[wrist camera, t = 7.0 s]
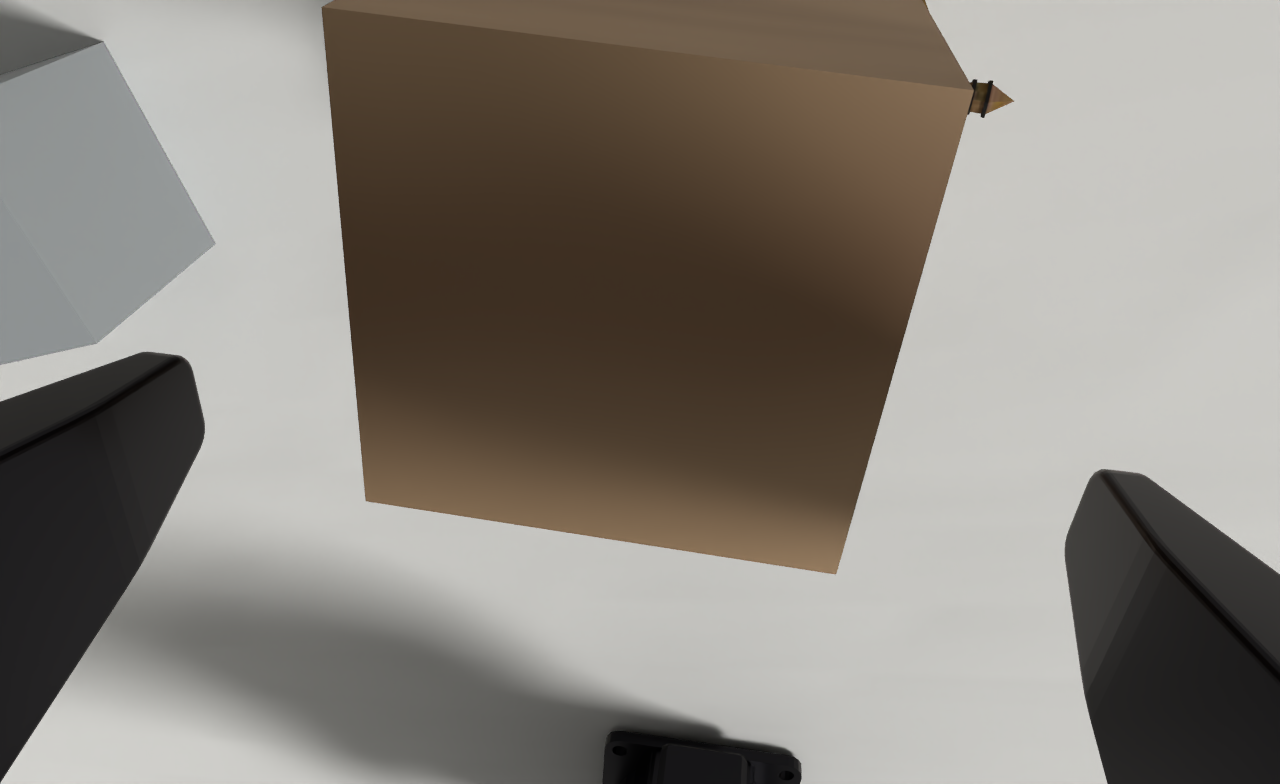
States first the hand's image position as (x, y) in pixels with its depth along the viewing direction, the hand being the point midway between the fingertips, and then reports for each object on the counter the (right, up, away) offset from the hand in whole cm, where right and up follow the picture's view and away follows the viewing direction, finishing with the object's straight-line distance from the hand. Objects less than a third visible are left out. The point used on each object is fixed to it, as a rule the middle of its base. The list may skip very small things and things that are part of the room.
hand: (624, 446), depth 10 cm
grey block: (-13, +6, +14) cm, 20 cm away
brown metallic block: (+1, +4, +3) cm, 5 cm away
